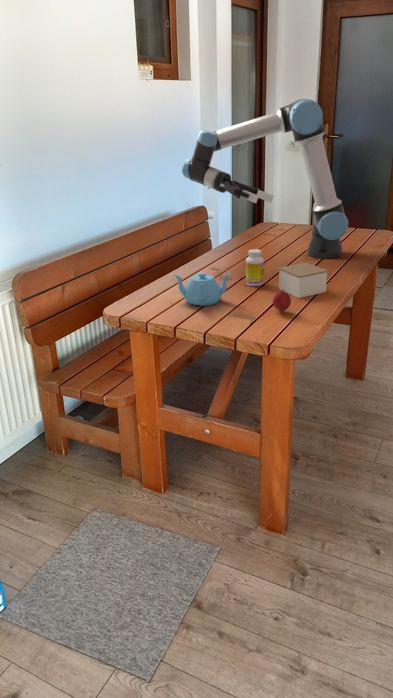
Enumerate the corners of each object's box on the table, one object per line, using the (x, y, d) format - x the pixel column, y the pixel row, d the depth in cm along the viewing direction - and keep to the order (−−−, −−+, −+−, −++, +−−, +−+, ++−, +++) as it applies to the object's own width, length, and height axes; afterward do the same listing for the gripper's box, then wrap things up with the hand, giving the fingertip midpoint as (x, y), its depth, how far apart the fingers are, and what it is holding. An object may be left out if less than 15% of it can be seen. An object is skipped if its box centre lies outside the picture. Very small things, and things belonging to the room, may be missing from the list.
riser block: (305, 283, 216) (306, 262, 213) (326, 291, 206) (327, 270, 202) (278, 288, 211) (278, 267, 208) (298, 298, 201) (299, 276, 197)
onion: (271, 309, 192) (271, 286, 188) (288, 308, 192) (288, 285, 189) (274, 315, 186) (275, 292, 183) (292, 314, 187) (293, 291, 183)
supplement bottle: (262, 287, 214) (262, 253, 208) (244, 286, 215) (244, 252, 210) (264, 281, 220) (264, 248, 214) (247, 281, 221) (247, 248, 216)
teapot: (204, 291, 211) (203, 264, 207) (234, 300, 201) (233, 272, 197) (174, 302, 202) (172, 273, 198) (203, 312, 192) (202, 282, 188)
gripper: (229, 189, 236) (274, 208, 228) (199, 189, 215) (247, 209, 207) (235, 171, 233) (280, 189, 225) (205, 169, 212) (253, 189, 204)
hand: (264, 199), depth 216 cm, fingers open, 13 cm apart
